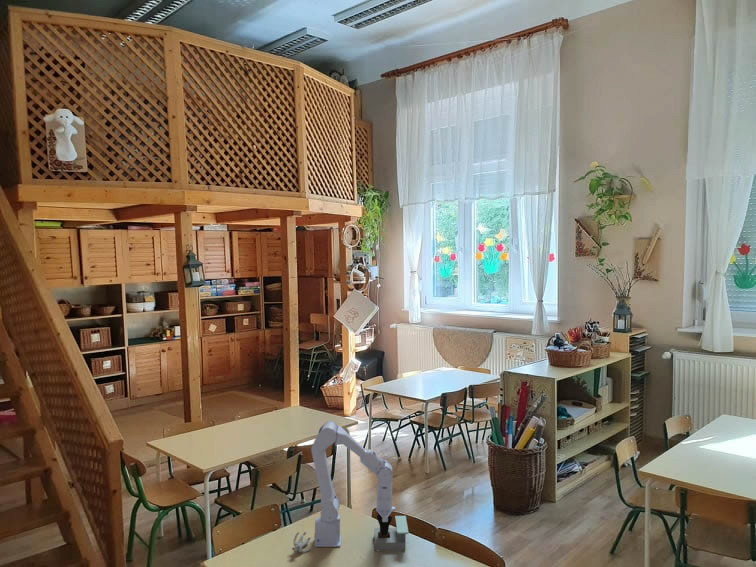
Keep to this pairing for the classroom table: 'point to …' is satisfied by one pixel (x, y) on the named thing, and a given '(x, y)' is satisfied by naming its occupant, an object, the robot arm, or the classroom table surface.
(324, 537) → the robot arm
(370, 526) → the classroom table surface
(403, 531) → the socket block
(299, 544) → the grey branched piece
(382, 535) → the peg
